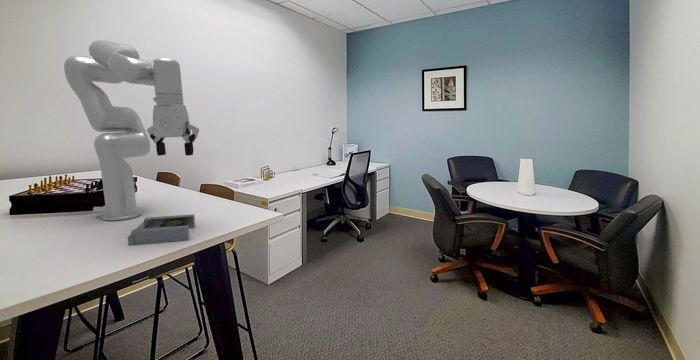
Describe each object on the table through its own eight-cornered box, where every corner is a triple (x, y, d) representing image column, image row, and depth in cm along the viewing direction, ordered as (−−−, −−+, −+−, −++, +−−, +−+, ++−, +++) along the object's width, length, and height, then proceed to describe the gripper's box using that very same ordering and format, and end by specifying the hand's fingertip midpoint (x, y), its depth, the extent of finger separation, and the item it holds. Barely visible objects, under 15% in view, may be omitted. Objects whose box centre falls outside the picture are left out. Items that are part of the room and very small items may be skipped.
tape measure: (160, 232, 107) (159, 222, 106) (183, 229, 111) (182, 218, 110) (161, 239, 101) (160, 227, 101) (186, 235, 105) (185, 224, 105)
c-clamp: (128, 245, 96) (127, 232, 95) (146, 226, 113) (145, 215, 112) (188, 240, 100) (187, 227, 100) (196, 222, 117) (195, 212, 117)
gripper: (135, 100, 99) (142, 156, 101) (188, 99, 96) (193, 156, 99) (153, 102, 106) (159, 154, 109) (202, 101, 104) (207, 154, 107)
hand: (175, 155), depth 104 cm, fingers open, 9 cm apart
